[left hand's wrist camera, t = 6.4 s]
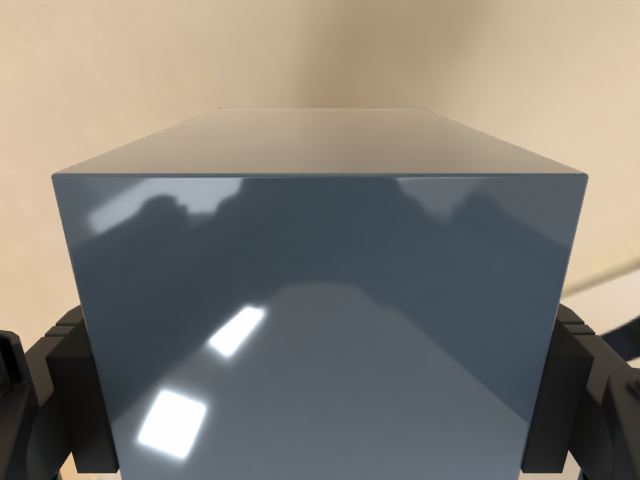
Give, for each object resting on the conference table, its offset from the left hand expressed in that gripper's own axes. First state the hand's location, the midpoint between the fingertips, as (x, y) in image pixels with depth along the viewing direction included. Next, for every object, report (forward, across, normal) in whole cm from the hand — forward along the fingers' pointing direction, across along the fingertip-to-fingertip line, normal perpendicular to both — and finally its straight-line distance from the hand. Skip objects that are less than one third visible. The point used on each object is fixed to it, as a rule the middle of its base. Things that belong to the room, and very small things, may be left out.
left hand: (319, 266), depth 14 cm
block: (+5, 0, 0) cm, 5 cm away
